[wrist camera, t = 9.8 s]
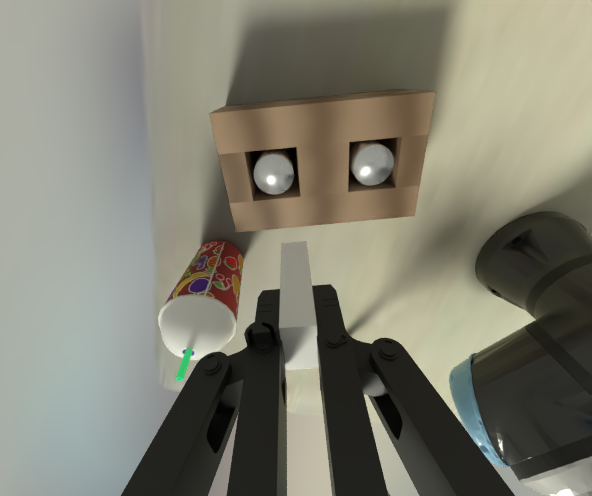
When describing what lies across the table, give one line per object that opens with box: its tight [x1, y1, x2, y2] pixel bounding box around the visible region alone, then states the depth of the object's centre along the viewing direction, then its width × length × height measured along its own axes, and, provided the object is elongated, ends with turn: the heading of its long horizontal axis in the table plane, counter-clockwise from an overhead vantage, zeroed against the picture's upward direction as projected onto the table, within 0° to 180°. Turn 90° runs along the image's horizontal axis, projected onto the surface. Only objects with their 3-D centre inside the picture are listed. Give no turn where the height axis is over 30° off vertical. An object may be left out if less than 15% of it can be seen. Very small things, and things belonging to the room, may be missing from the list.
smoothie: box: [158, 240, 243, 381], centre depth 33 cm, size 8×8×20 cm
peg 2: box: [349, 140, 394, 185], centre depth 30 cm, size 4×4×8 cm
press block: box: [209, 89, 436, 232], centre depth 30 cm, size 20×12×8 cm, turn 95°
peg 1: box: [254, 148, 294, 194], centre depth 30 cm, size 4×4×8 cm
